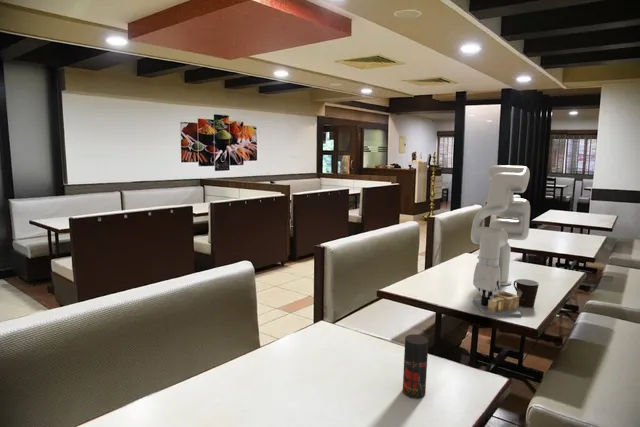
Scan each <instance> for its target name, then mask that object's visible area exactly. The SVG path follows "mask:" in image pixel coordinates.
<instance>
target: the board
mask: <svg viewBox="0 0 640 427" xmlns="http://www.w3.org/2000/svg"><path fill="white" fill-rule="evenodd" d="M472 302H473V303H474V304H475V305H476V306H477V307H478V309H479V310H480V311H481V312H482V313H483V314H484V315H485V316H486V317H504V318H505V317H506V318H507V317H512V318H522V314H521V312H520V311H518V309H514V310H511V311H506V310H501V311H500V312H494V313H493V312H490V311H488V306H482V305H481V298H472Z"/></svg>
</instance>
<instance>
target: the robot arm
mask: <svg viewBox="0 0 640 427" xmlns="http://www.w3.org/2000/svg"><path fill="white" fill-rule="evenodd" d="M487 174H488V175H487V176H488V179H489V185H488V193H487V194H488V195H487V200H486V201H487V202H486V204H485V205H484V206H483V207H481V208H480V209H479V210H478V212H477V213H475V216H474V217H473V220H472V225H471V231H470V240H471V242H472V243H473V244H475V245H479V250H478V252H479V253H478V255H477V260H478V262H476V265H475V268H474V272H473V280H472V284H473V286H474V288H475V289H477V290H478V291H479V293H480V294H479V295H480V296H481V298H480V299H481V305H482V306H488V301H489V300H490V299H491V297H493V296H494V295H498V294H499V291H500V288H501V286H509V285H511V284H512V280H511V279H510V278H509V273H510V262H511V260H510V259H511V245H510V243H509V242H508V240H514V241H525V240H527V239H528V237H529V231H530V218H531V205H530V201H529V200H527V199H525V198H517V197H514V193H515V194H523V193H524V192H526V190H527V187H528V185H529V181H530V177H531V176H530V175H531V174H530V168H528V166H524V165H501V164H499V165H498V164H497V165H491V166H489V168H488V169H487ZM493 215H495V216H496V217H500V218H494V219H492V220H491V221H490V223H489V226H480V225H481V223H482V222H483V220H485V219H486V218H487V217H490V216H493Z"/></svg>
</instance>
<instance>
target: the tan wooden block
mask: <svg viewBox="0 0 640 427" xmlns="http://www.w3.org/2000/svg"><path fill="white" fill-rule="evenodd" d="M498 293H499V294H498V295H492V297H493V298H490V300H489V301H488V311H490V312H493V313H494V312H497V308H498V302H501V310H506V311H511V310H514V309H516V310H518V308H520V306H519V296H517V294H513V293H510V292H507V291H503V290H502V291H501V292H500V291H498ZM505 296H507V297H505Z"/></svg>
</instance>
